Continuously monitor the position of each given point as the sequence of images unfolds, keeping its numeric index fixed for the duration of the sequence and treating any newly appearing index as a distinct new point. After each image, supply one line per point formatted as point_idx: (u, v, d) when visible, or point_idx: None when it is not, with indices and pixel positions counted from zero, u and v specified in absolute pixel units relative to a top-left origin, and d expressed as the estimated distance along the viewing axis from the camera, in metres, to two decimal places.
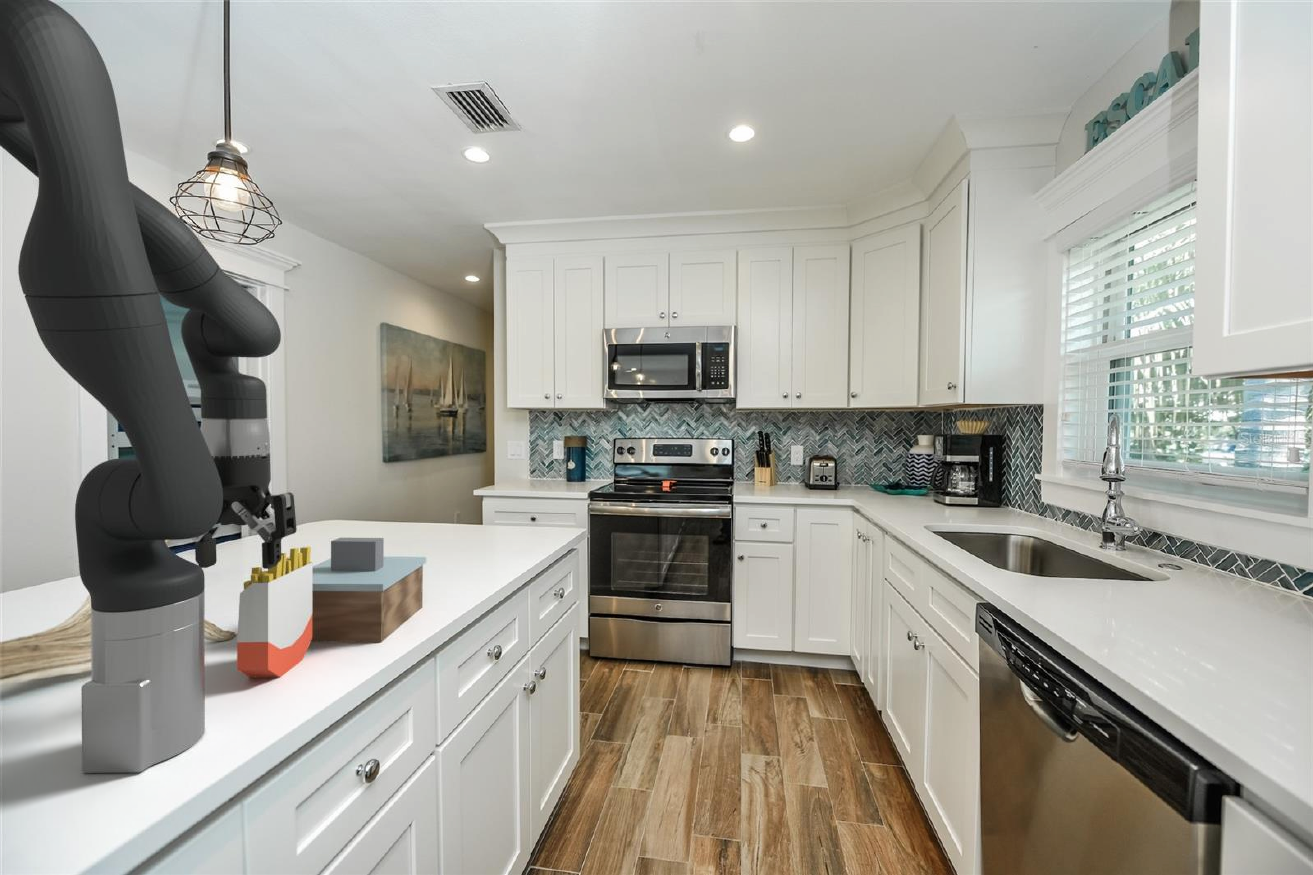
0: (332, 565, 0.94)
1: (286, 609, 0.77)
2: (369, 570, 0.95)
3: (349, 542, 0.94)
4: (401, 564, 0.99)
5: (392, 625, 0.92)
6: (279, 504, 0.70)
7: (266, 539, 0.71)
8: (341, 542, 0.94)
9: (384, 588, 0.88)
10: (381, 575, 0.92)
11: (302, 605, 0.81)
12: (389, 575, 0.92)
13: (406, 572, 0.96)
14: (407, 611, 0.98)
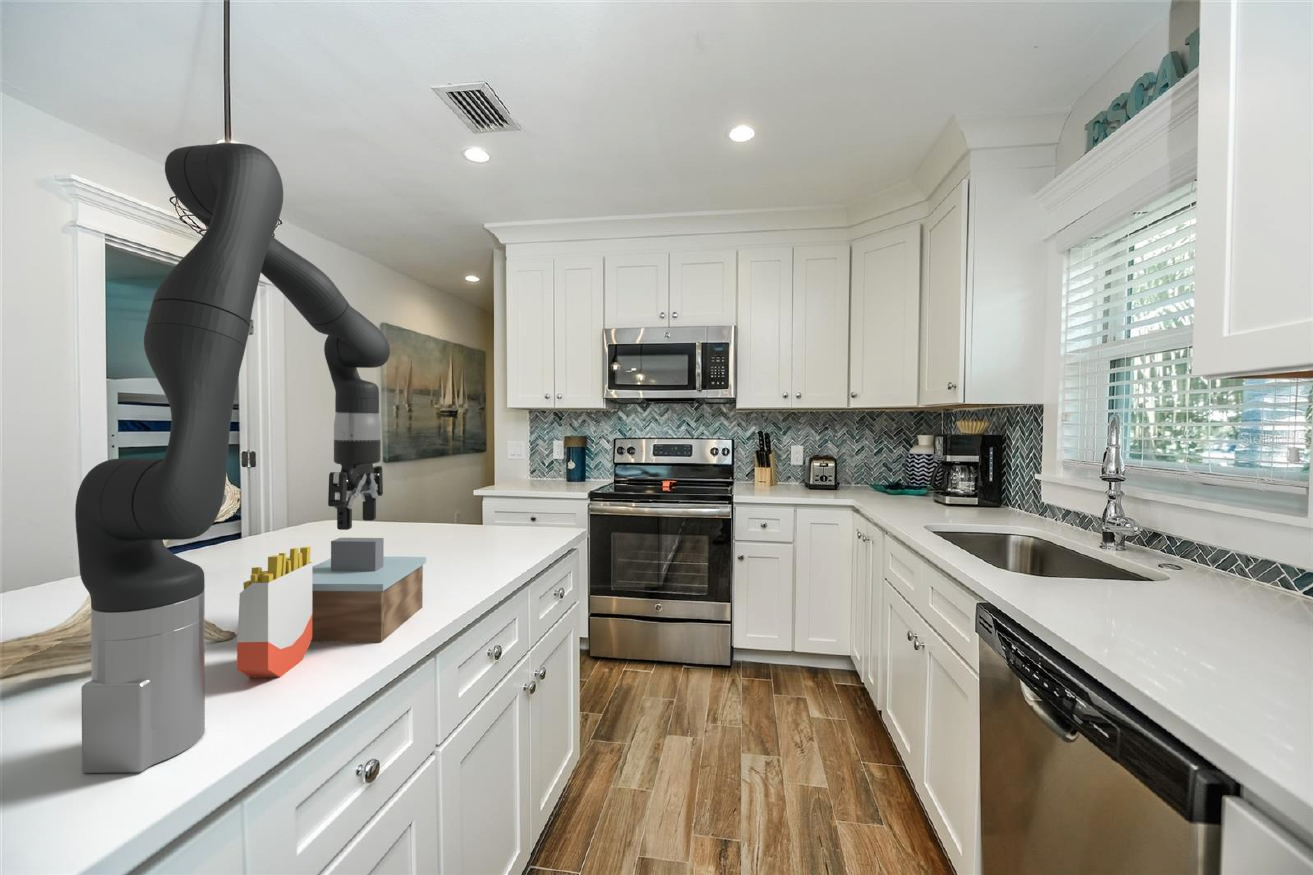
0: (332, 565, 0.94)
1: (286, 609, 0.77)
2: (369, 570, 0.95)
3: (349, 542, 0.94)
4: (401, 564, 0.99)
5: (392, 625, 0.92)
6: (381, 472, 1.02)
7: (377, 498, 1.00)
8: (341, 542, 0.94)
9: (384, 588, 0.88)
10: (381, 575, 0.92)
11: (302, 605, 0.81)
12: (389, 575, 0.92)
13: (406, 572, 0.96)
14: (407, 611, 0.98)
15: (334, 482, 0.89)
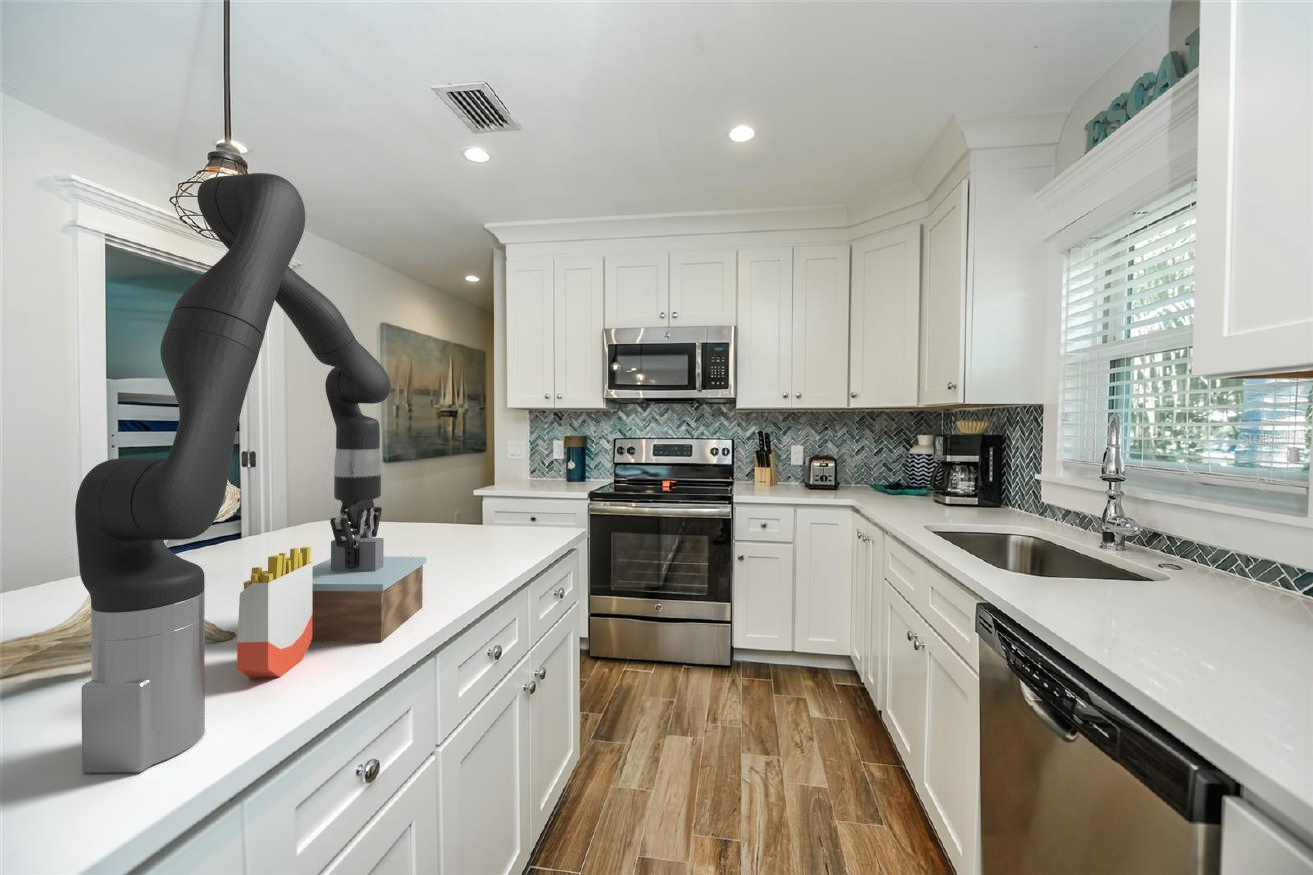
0: (332, 565, 0.94)
1: (286, 609, 0.77)
2: (369, 570, 0.95)
3: None
4: (401, 564, 0.99)
5: (392, 625, 0.92)
6: (380, 513, 1.02)
7: None
8: None
9: (384, 588, 0.88)
10: (381, 575, 0.92)
11: (302, 605, 0.81)
12: (389, 575, 0.92)
13: (406, 572, 0.96)
14: (407, 611, 0.98)
15: (337, 528, 0.90)
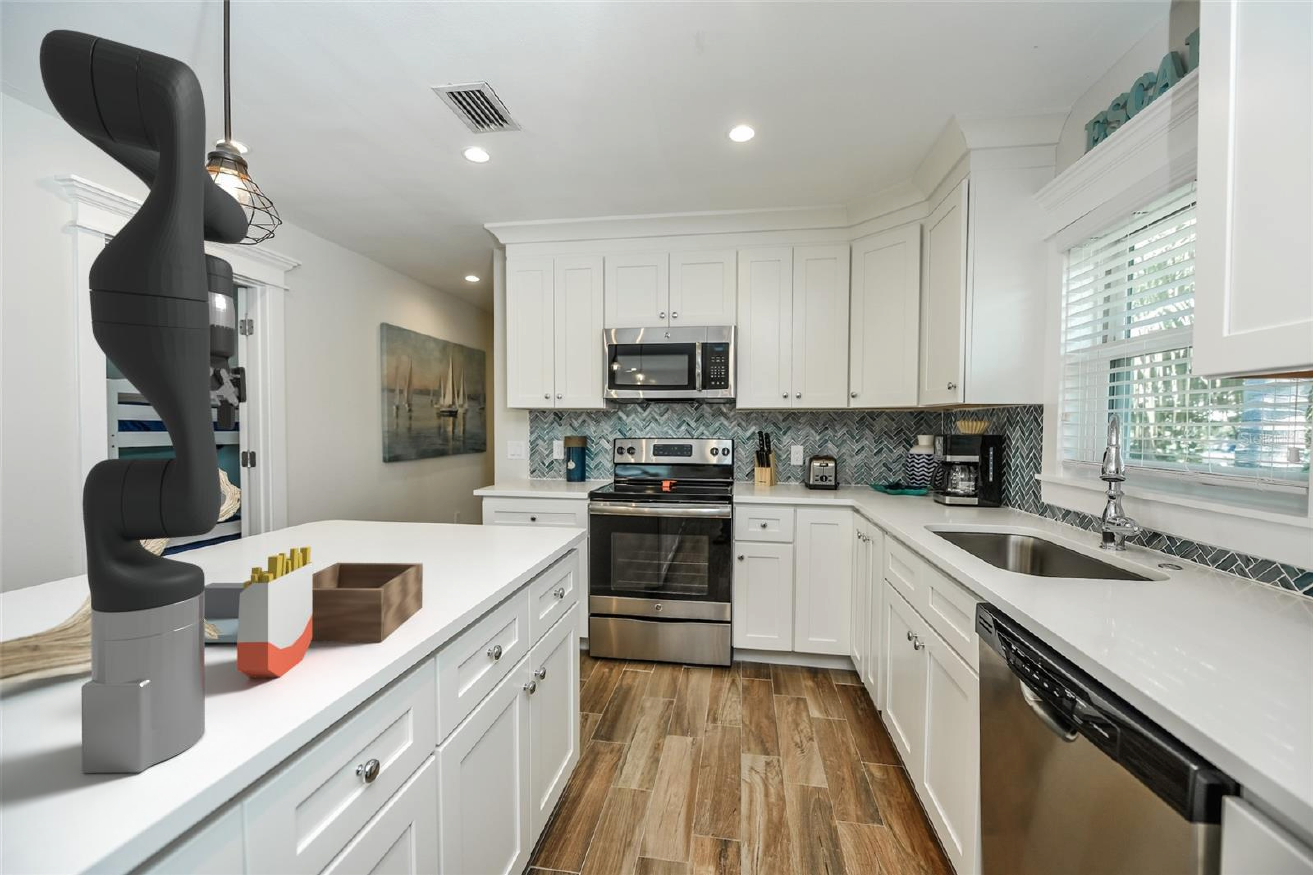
0: None
1: (286, 609, 0.77)
2: None
3: (218, 589, 0.93)
4: None
5: (392, 625, 0.92)
6: (243, 374, 0.86)
7: (236, 403, 0.84)
8: (210, 589, 0.92)
9: None
10: None
11: (302, 605, 0.81)
12: None
13: None
14: (407, 611, 0.98)
15: None
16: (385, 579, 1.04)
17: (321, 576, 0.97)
